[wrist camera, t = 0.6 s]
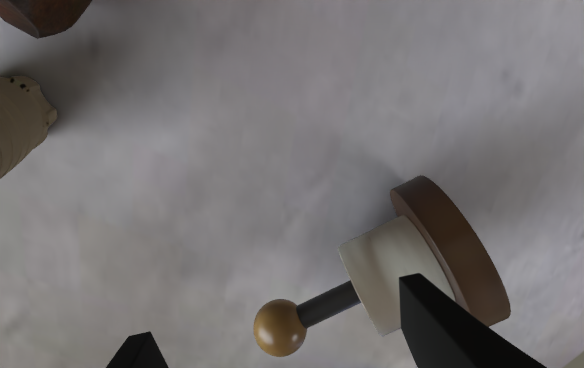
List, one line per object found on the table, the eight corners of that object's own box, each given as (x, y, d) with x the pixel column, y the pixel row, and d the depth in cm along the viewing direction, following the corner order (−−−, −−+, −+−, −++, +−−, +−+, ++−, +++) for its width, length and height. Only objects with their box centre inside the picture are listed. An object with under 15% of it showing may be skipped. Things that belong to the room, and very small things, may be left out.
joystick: (283, 324, 24) (299, 449, 17) (222, 245, 20) (210, 362, 14) (440, 249, 22) (525, 352, 16) (402, 153, 19) (488, 229, 12)
